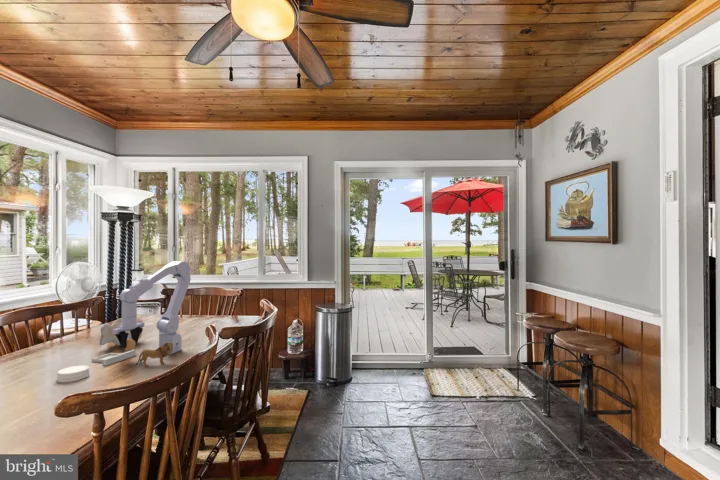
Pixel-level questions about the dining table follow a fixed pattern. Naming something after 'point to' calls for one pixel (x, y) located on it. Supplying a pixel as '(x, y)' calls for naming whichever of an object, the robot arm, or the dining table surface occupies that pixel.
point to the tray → (103, 357)
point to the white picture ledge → (119, 357)
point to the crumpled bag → (108, 334)
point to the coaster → (73, 373)
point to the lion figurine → (156, 353)
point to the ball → (130, 344)
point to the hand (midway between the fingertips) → (129, 346)
